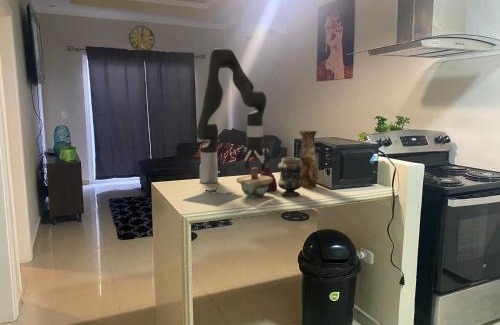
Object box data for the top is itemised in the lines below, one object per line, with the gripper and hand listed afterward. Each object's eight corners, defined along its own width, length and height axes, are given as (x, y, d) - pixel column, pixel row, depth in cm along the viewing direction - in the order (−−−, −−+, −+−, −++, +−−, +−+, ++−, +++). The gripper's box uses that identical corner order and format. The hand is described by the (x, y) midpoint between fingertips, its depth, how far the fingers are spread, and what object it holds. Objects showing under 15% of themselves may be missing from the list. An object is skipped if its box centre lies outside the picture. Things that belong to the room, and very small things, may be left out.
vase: (318, 188, 199) (319, 130, 194) (297, 188, 200) (298, 130, 195) (317, 184, 209) (318, 129, 204) (297, 184, 210) (298, 129, 205)
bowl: (234, 198, 180) (234, 181, 178) (250, 192, 190) (250, 177, 189) (259, 202, 172) (259, 185, 171) (274, 196, 183) (274, 180, 182)
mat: (182, 201, 175) (182, 200, 175) (208, 192, 192) (208, 191, 192) (217, 207, 164) (217, 206, 164) (242, 197, 181) (242, 196, 181)
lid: (229, 182, 177) (229, 169, 176) (248, 176, 191) (248, 164, 190) (261, 186, 168) (261, 172, 168) (279, 179, 183) (279, 166, 182)
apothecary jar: (303, 192, 190) (304, 156, 188) (301, 198, 179) (301, 160, 176) (279, 191, 193) (279, 156, 190) (275, 197, 182) (275, 159, 179)
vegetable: (274, 198, 192) (277, 171, 186) (254, 194, 194) (256, 168, 188) (278, 188, 202) (281, 163, 195) (258, 185, 203) (261, 159, 197)
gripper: (237, 135, 177) (237, 169, 180) (264, 136, 170) (264, 172, 172) (246, 134, 183) (246, 167, 186) (272, 135, 176) (272, 170, 179)
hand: (254, 170), depth 179 cm, fingers open, 8 cm apart
